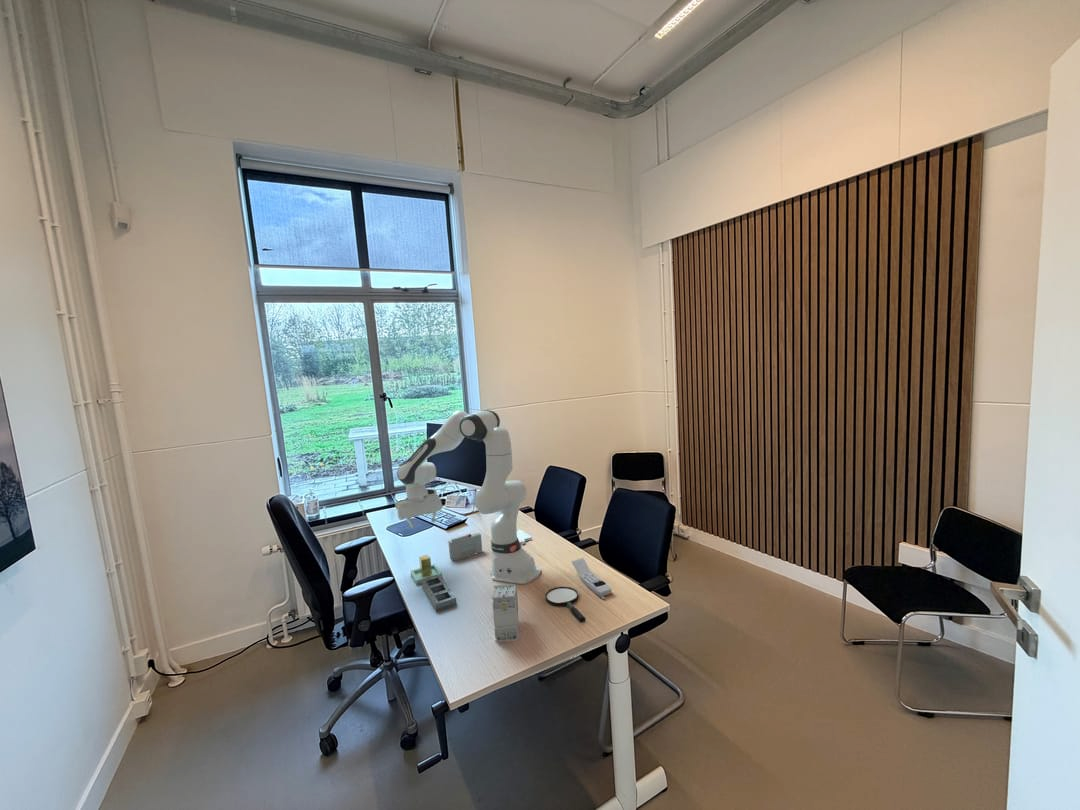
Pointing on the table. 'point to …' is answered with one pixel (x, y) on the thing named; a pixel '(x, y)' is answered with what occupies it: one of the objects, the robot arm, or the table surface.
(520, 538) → the mounting plate
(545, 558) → the table surface
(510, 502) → the robot arm
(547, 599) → the magnifying glass
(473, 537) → the cassette player
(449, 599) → the socket block
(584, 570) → the mobile phone
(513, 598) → the circuit breaker
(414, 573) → the parts tray
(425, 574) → the brass plug
